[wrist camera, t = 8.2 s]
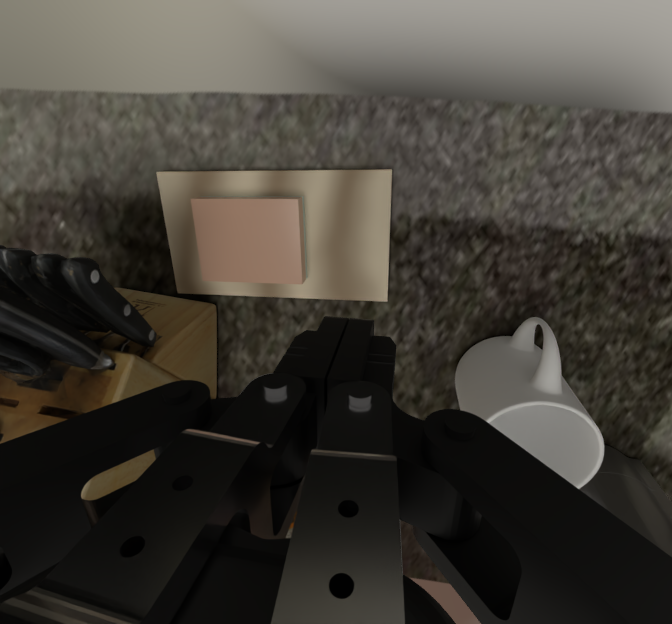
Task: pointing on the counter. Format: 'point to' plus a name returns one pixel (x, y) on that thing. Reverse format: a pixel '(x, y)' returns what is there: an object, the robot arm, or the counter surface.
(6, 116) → the counter surface
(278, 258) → the pink rectangular block
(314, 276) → the board
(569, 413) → the mug
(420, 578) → the counter surface
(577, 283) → the counter surface
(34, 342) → the knife block
